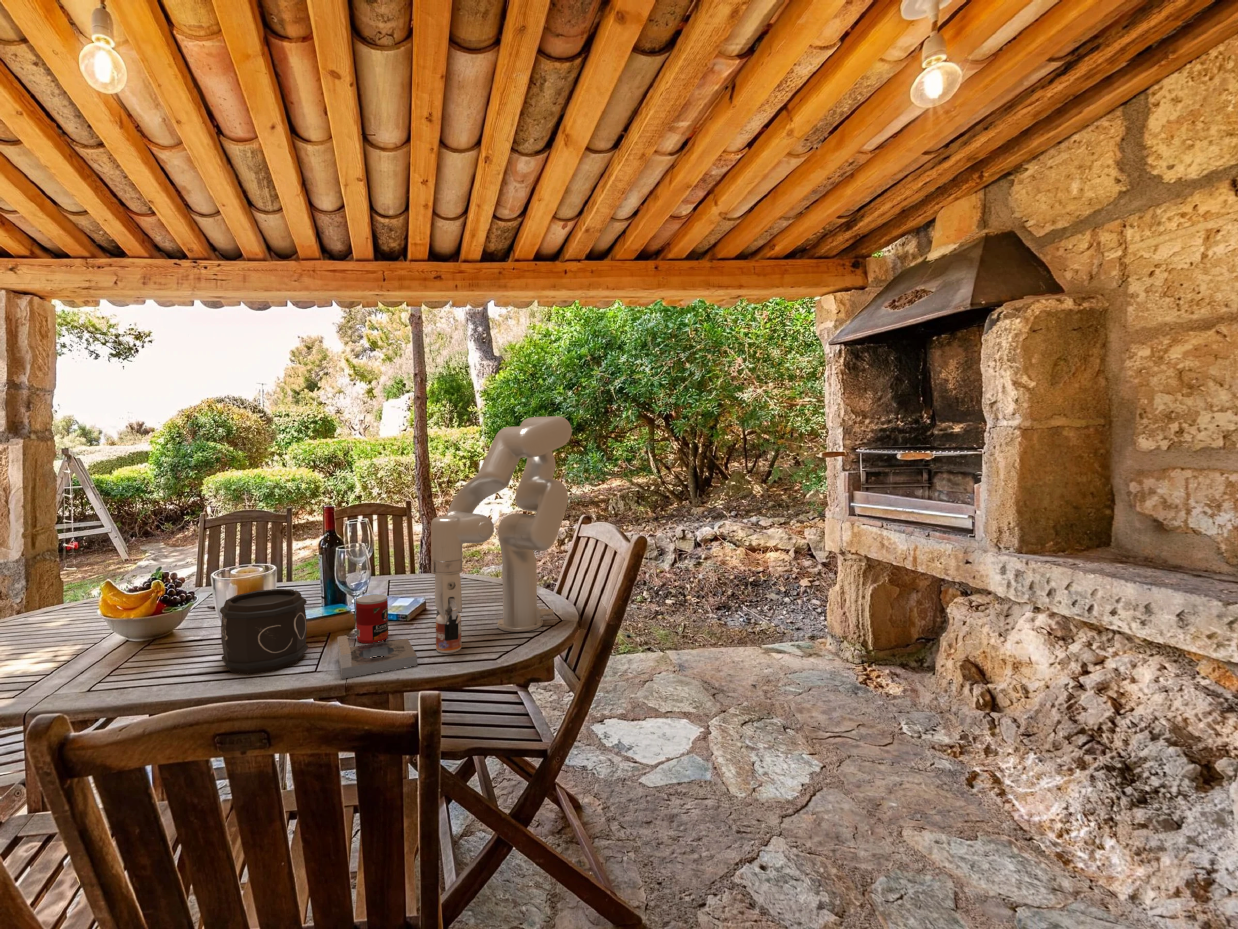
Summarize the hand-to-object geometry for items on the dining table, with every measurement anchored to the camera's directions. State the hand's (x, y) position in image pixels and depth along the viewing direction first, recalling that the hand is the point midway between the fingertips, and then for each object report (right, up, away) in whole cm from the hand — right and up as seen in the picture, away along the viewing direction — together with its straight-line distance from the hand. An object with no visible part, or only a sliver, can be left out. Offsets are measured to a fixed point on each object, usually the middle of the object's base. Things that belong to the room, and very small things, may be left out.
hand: (447, 634), depth 153 cm
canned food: (-22, -4, +9) cm, 24 cm away
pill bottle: (0, -4, +1) cm, 4 cm away
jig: (-14, -4, -8) cm, 17 cm away
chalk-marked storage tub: (-41, -5, -7) cm, 42 cm away
